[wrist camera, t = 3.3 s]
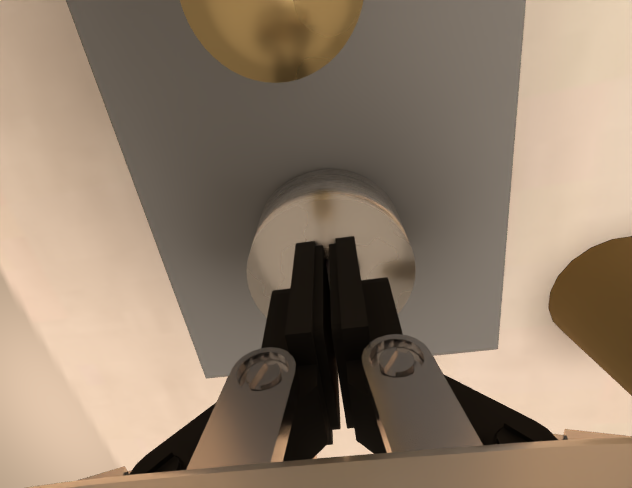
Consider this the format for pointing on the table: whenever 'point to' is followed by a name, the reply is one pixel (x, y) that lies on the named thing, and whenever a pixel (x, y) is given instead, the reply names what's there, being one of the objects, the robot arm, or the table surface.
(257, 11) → the brass shaft
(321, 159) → the mount
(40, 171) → the table surface
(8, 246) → the table surface
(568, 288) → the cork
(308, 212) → the knob
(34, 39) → the table surface
